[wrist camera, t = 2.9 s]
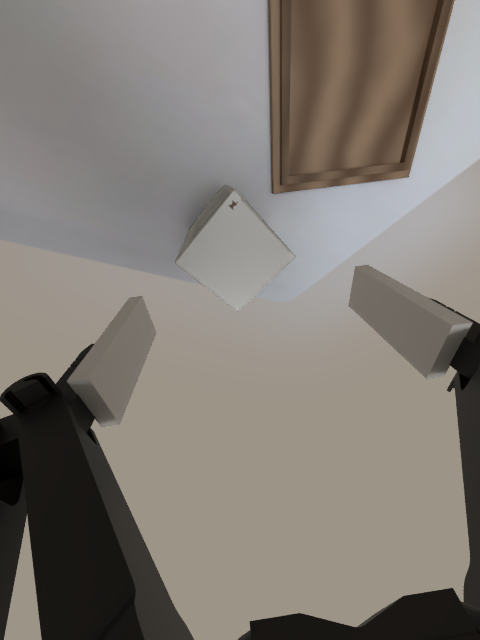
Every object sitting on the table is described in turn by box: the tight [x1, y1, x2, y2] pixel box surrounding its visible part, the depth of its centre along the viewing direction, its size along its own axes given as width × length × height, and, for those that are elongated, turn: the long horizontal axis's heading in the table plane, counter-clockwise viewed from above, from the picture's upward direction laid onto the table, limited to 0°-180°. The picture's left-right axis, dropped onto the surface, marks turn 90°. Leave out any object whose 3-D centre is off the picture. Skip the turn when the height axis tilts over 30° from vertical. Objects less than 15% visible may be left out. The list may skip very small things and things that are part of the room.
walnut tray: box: [268, 0, 455, 193], centre depth 28 cm, size 21×21×2 cm
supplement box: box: [175, 185, 296, 312], centre depth 30 cm, size 10×9×17 cm
